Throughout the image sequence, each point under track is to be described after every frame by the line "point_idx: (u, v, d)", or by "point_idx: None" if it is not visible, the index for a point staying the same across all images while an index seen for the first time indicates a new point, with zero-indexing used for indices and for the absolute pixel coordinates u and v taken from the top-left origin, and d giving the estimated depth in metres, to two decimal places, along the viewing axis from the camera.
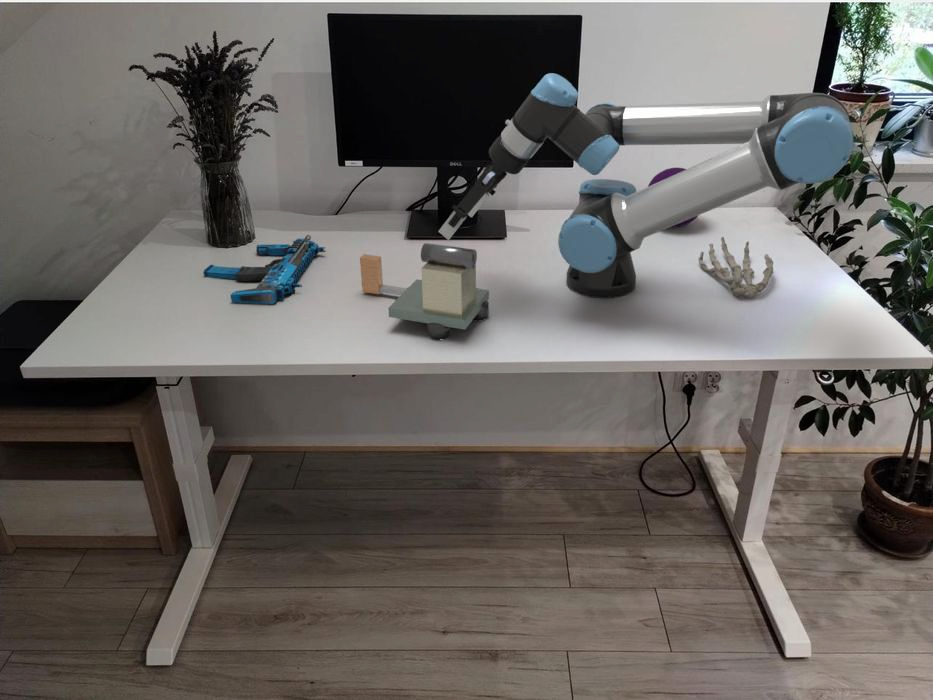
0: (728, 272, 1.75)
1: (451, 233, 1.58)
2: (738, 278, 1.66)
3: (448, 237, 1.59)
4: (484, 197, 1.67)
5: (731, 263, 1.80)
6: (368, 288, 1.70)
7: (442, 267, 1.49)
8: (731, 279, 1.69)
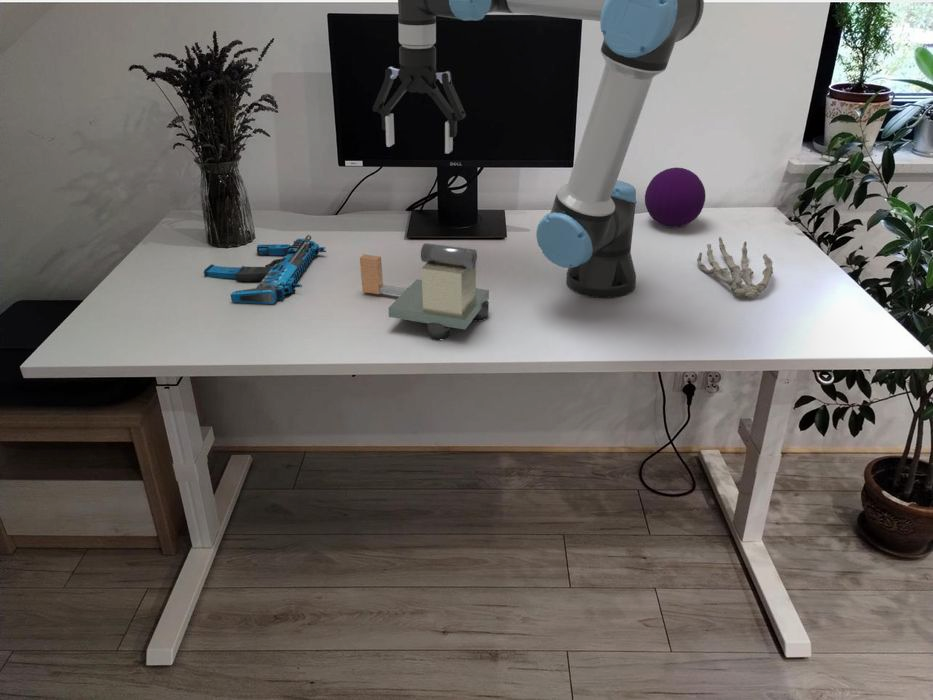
0: (727, 273, 1.75)
1: None
2: (739, 279, 1.66)
3: None
4: None
5: (730, 263, 1.80)
6: (368, 288, 1.70)
7: (442, 267, 1.49)
8: (731, 280, 1.68)
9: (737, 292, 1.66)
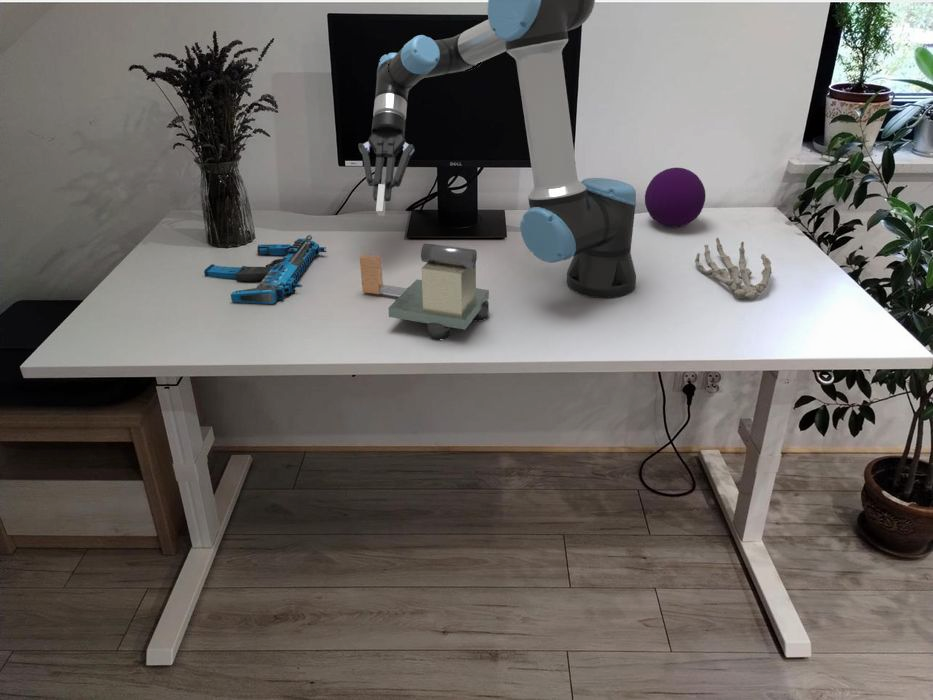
0: (726, 273, 1.75)
1: None
2: (738, 279, 1.66)
3: None
4: None
5: (728, 264, 1.80)
6: (368, 288, 1.70)
7: (442, 267, 1.49)
8: (731, 280, 1.68)
9: (737, 293, 1.65)
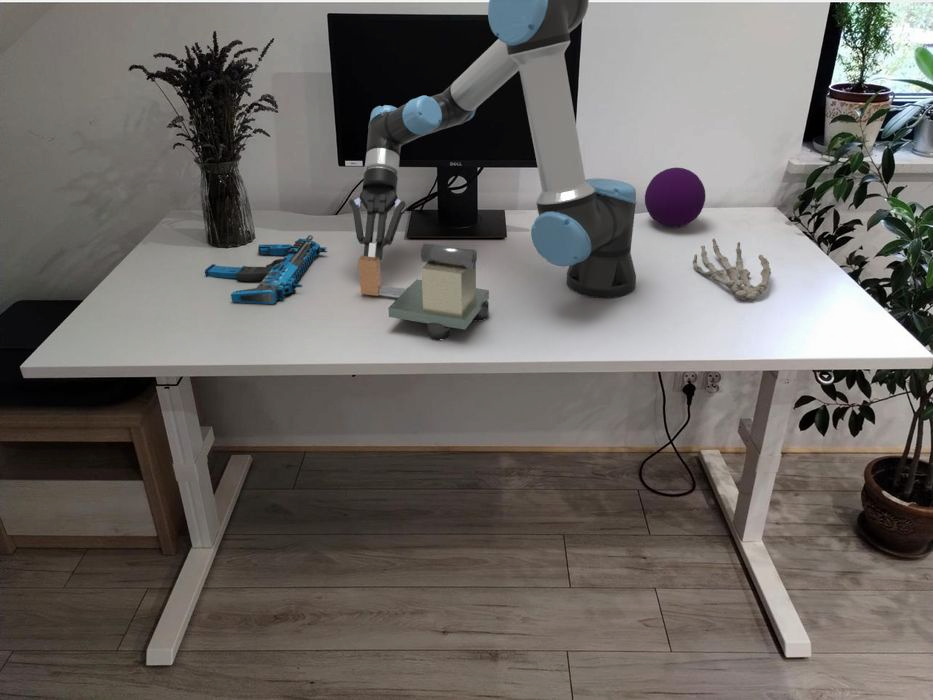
0: (725, 274, 1.74)
1: None
2: (739, 280, 1.65)
3: None
4: None
5: (725, 265, 1.80)
6: (367, 290, 1.69)
7: (442, 267, 1.49)
8: (731, 282, 1.68)
9: (738, 294, 1.65)
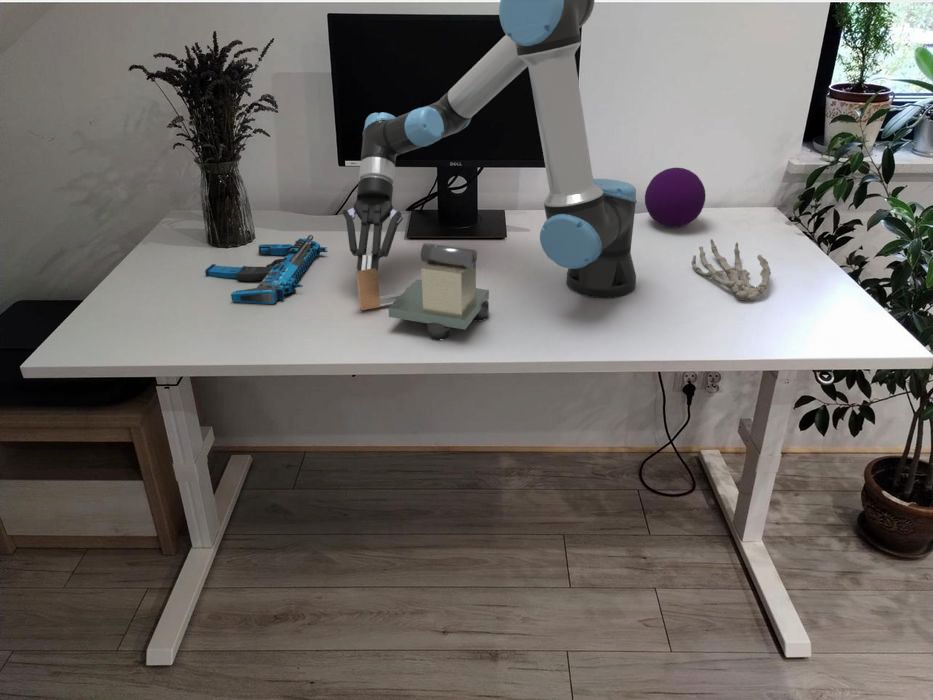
0: (725, 275, 1.74)
1: None
2: (740, 281, 1.65)
3: None
4: (368, 259, 1.65)
5: (724, 265, 1.79)
6: (368, 304, 1.63)
7: (442, 267, 1.49)
8: (732, 282, 1.67)
9: (739, 295, 1.65)
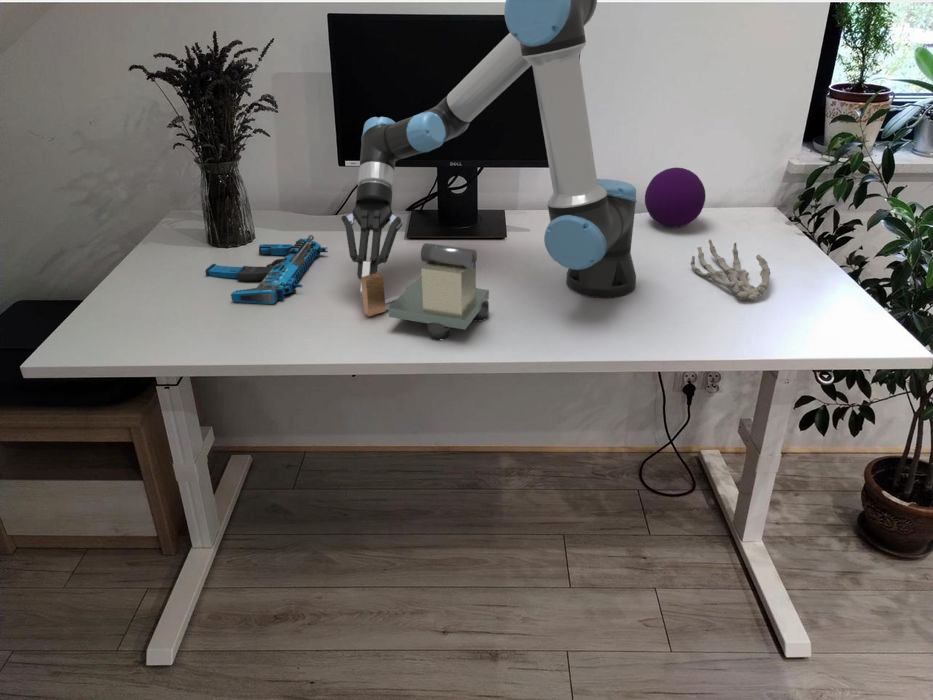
0: (724, 275, 1.74)
1: (361, 284, 1.61)
2: (741, 282, 1.65)
3: None
4: None
5: (723, 266, 1.79)
6: (374, 309, 1.61)
7: (442, 267, 1.49)
8: (732, 283, 1.67)
9: (740, 295, 1.65)
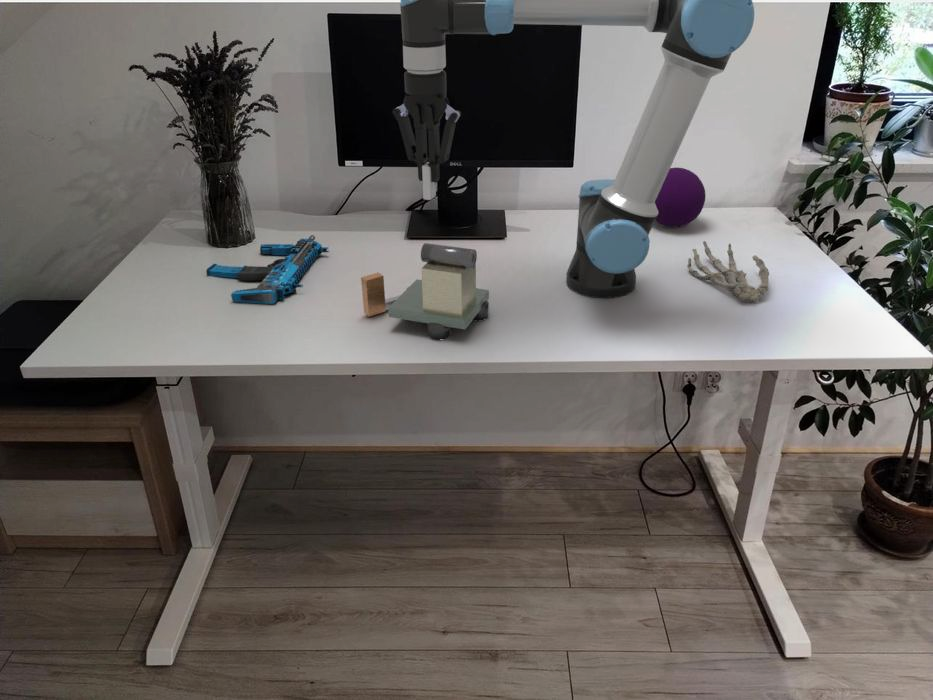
0: (723, 277, 1.73)
1: None
2: (742, 283, 1.64)
3: None
4: None
5: (720, 267, 1.79)
6: (374, 310, 1.61)
7: (442, 267, 1.49)
8: (733, 285, 1.66)
9: (742, 297, 1.64)
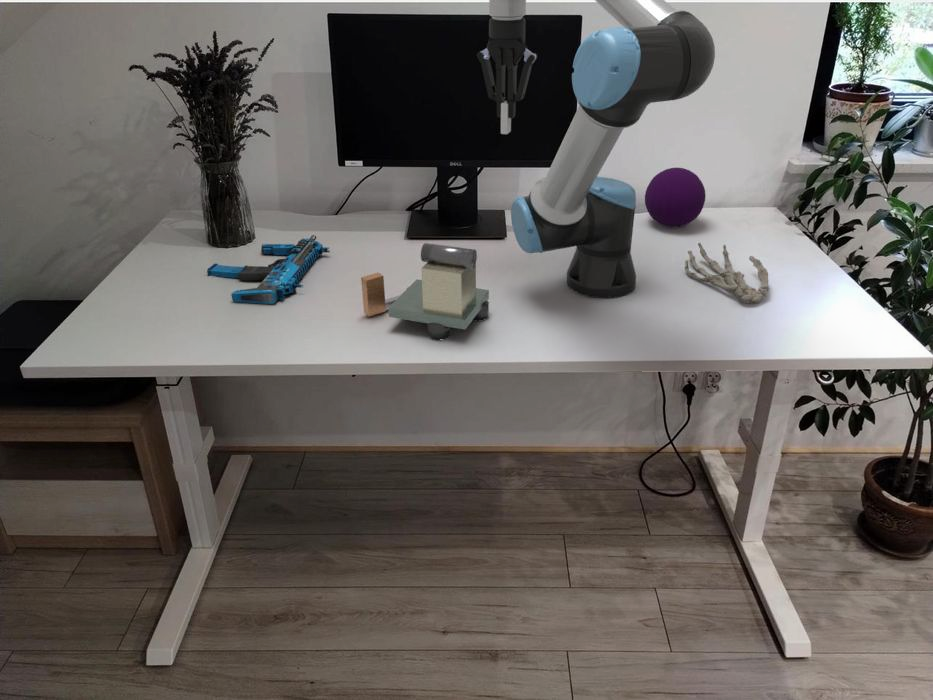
0: (722, 279, 1.72)
1: None
2: (744, 285, 1.64)
3: None
4: None
5: (717, 268, 1.78)
6: (374, 310, 1.61)
7: (442, 267, 1.49)
8: (735, 286, 1.66)
9: (745, 298, 1.63)
